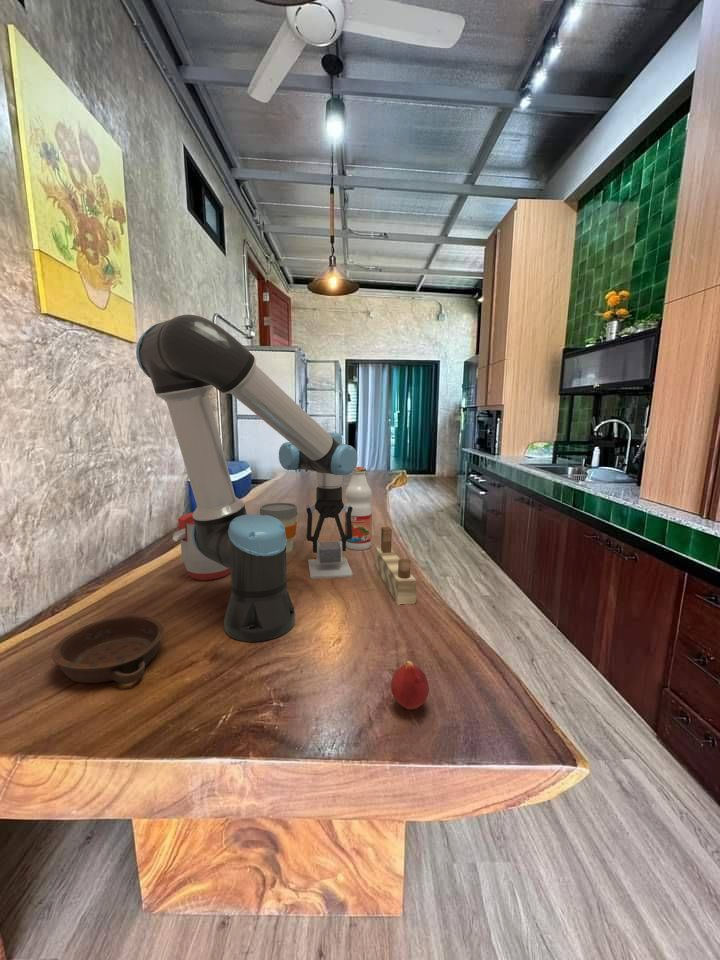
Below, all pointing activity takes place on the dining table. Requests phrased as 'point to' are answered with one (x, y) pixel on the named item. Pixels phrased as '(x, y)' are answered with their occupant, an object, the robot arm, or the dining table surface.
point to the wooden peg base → (395, 570)
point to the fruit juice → (359, 510)
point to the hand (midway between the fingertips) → (329, 561)
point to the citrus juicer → (196, 553)
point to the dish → (110, 649)
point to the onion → (410, 686)
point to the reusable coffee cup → (283, 519)
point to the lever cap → (330, 552)
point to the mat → (329, 569)
